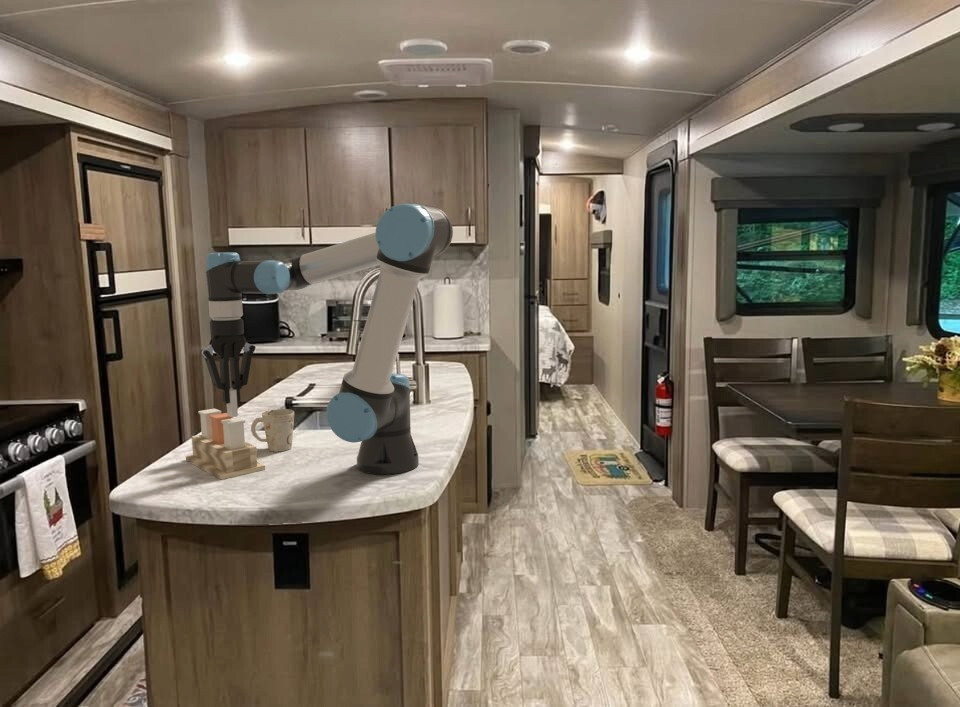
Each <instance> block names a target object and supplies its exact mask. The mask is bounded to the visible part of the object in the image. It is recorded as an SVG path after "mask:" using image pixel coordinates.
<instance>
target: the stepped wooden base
mask: <svg viewBox="0 0 960 707" xmlns="http://www.w3.org/2000/svg"><path fill="white" fill-rule="evenodd" d="M191 446H192V448H191V449H192V454H190V455H186V456H185V461H187V462H188V461H189V463H190V462H191V463H190V464H192V463H193V464H192V465H194V466H196V467H198V468H199V467H200V468H199V469H202V470H203V471H206V473H209V474H211V475H212V476H214V477H215V478H217V479H220V480H225V479H229V478H235V477H239V476H243V475H247V474H251V473H252V474H253V473H256V472H261V471H265V470H266V466H265V465H264V464H263V463H260V462H258V457H257V456H258V455H257V446H255V445H253V444H251V443H248V442H247V441H245V448H240V449H235V450H228V449H226V448H225V446H224V444H220V445H217V444H215V443H213V438H212V439H204V438H202V434H197V435H192V436H191Z"/></svg>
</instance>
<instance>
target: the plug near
mask: <svg viewBox="0 0 960 707" xmlns="http://www.w3.org/2000/svg"><path fill="white" fill-rule="evenodd" d="M221 423H223V432H224V446H225V448H226V449H228V450H235V449H240V448H245V442H246V440H245V425H244V424H245V423H246V419H243V418H240V417H238V416H237V417H233V418H231V419H226V420H221Z"/></svg>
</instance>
